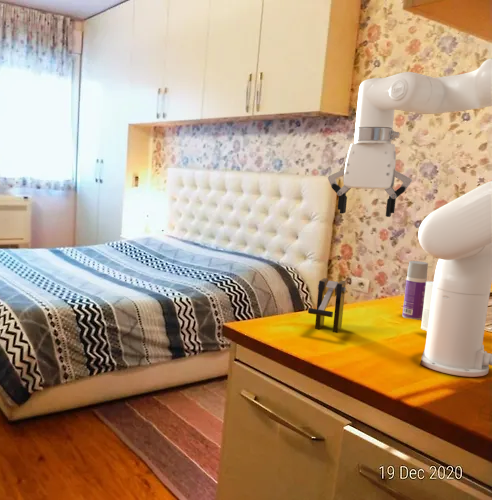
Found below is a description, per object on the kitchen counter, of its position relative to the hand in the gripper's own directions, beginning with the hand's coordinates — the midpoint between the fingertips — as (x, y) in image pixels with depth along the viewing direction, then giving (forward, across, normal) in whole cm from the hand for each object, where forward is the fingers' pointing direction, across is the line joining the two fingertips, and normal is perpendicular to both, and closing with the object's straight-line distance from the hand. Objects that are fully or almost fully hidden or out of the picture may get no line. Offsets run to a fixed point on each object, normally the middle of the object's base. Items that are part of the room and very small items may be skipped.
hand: (364, 214), depth 115 cm
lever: (+20, +5, +7) cm, 22 cm away
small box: (+28, -18, -12) cm, 36 cm away
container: (+28, -10, -27) cm, 41 cm away
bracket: (+28, +5, +3) cm, 29 cm away
